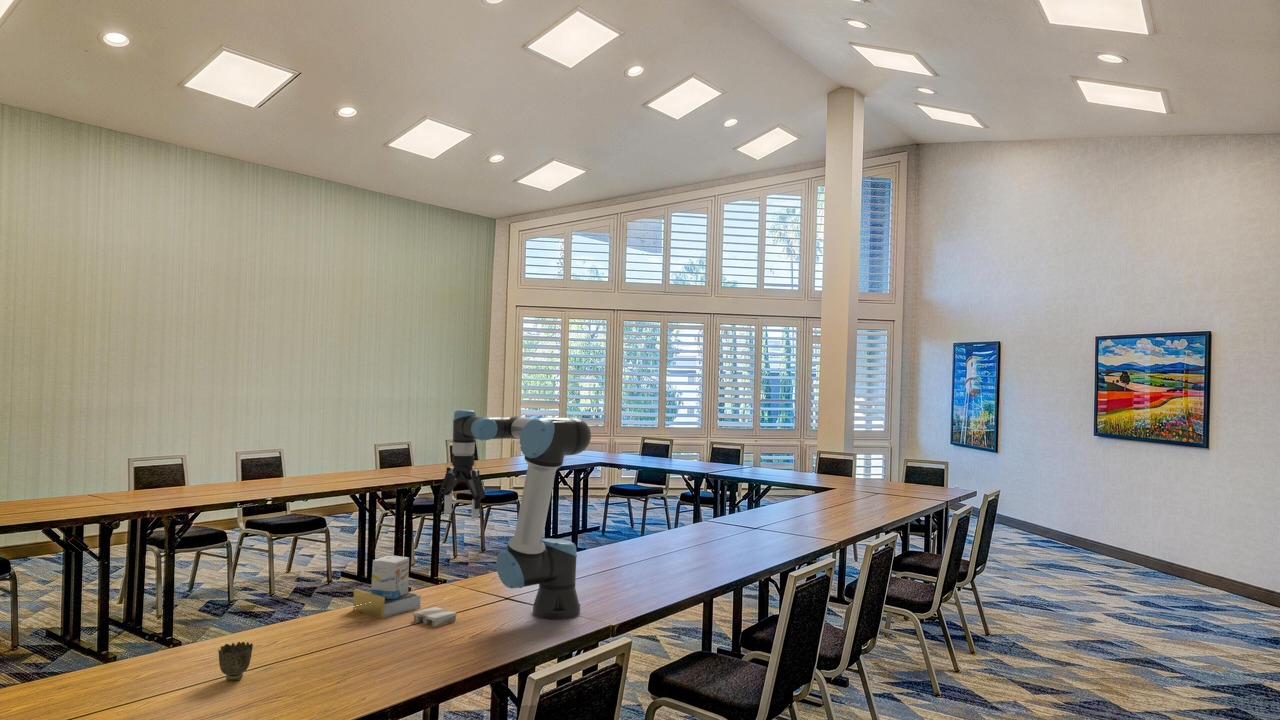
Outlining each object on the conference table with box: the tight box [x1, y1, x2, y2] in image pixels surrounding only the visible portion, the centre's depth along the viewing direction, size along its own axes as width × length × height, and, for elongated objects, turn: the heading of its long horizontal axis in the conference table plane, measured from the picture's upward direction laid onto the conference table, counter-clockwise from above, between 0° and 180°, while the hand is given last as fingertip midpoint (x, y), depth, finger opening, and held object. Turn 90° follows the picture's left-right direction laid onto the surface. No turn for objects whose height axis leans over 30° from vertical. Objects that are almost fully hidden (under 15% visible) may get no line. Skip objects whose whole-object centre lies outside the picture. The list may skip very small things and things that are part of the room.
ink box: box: [370, 555, 410, 599], centre depth 248 cm, size 9×8×12 cm
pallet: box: [413, 606, 457, 628], centre depth 237 cm, size 10×8×2 cm
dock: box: [352, 588, 422, 619], centre depth 247 cm, size 14×15×6 cm
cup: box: [217, 641, 254, 682], centre depth 187 cm, size 8×7×8 cm
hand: (461, 516), depth 268 cm, fingers open, 13 cm apart
